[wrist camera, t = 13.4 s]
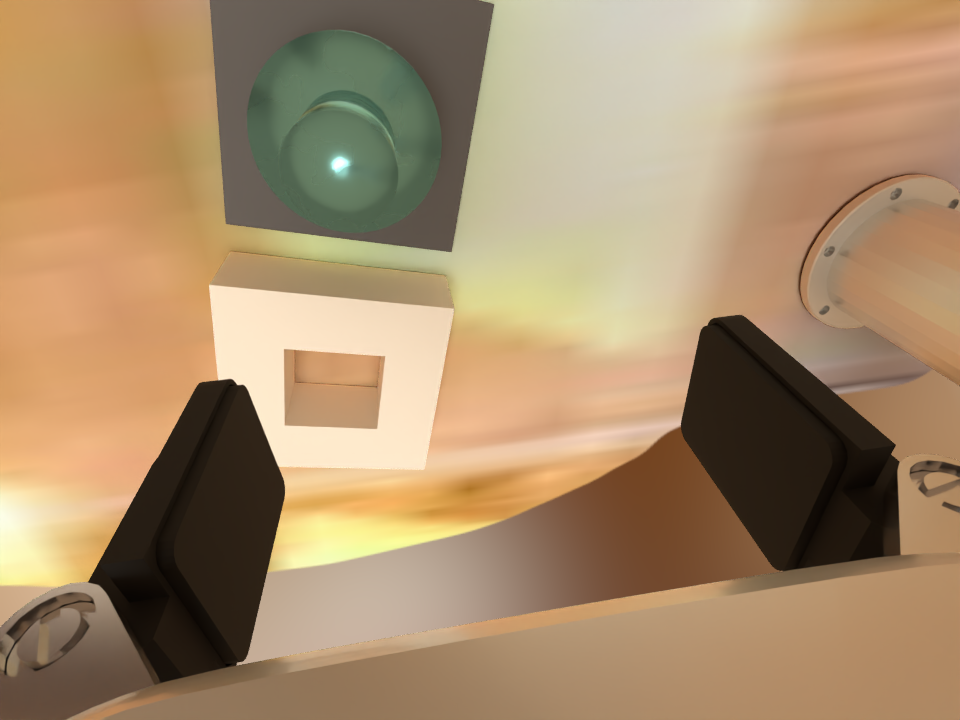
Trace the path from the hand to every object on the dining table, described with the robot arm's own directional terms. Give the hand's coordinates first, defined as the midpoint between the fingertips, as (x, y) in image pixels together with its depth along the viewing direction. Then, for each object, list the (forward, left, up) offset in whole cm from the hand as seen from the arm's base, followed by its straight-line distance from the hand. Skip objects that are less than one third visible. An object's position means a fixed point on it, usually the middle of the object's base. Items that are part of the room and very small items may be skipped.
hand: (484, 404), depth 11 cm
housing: (+4, +15, -25) cm, 29 cm away
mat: (+4, -1, -25) cm, 25 cm away
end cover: (+4, -1, -24) cm, 25 cm away
